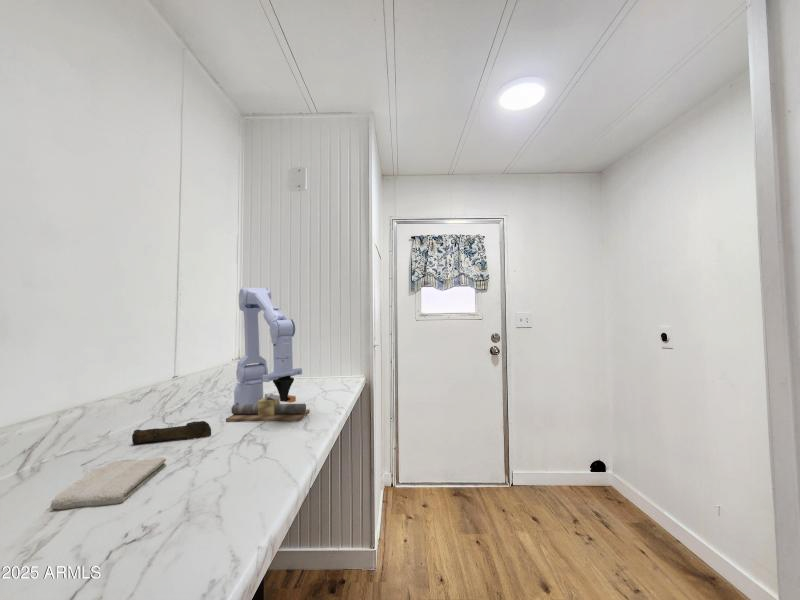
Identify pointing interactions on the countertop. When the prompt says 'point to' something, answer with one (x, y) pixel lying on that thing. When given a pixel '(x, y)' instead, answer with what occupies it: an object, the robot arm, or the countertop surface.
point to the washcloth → (109, 484)
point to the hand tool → (172, 432)
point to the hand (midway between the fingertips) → (283, 401)
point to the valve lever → (290, 398)
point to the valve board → (267, 418)
